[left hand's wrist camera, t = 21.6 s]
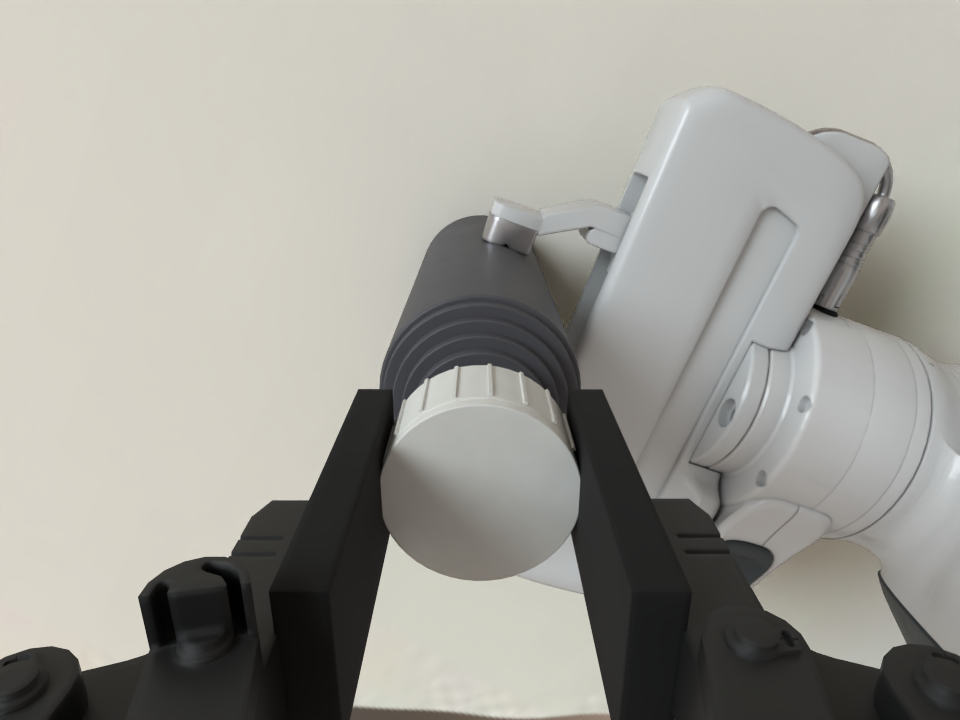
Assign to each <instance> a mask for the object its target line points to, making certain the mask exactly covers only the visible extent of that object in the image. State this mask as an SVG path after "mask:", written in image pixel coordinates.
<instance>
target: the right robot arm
mask: <svg viewBox="0 0 960 720" xmlns="http://www.w3.org/2000/svg"><path fill="white" fill-rule="evenodd" d="M878 184H879V189H878V193H877V194H874V192H875V190H876V188H877V186H878ZM892 184H893V171H892V167H891V163H890V160H889V156H888V155H887V154H886V153H885V152H884V151H883V150H882V149H881V148H880V147H879V146H877V145H876V144H875V143H873V142H871V141H868V140H866V139H863V138H861V137H858V136H856V135H853V134H851V133H848V132H846V131H843V130H841V129H836V128H820V129H815V130H812V131H809V132H807V131H806V130H804V129H802V128H801V127H799V126H798V125H796V124H794V123H793V122H791V121H789V120H788V119H786V118H784V117H782V116H781V115H779V114H777V113H775V112H773V111H771V110H770V109H768V108H766V107H764V106H762V105H760V104H758V103H756V102H754V101H752V100H750V99H748V98H745V97H743V96H741V95H739V94H737V93H734V92H732V91H729V90H727V89H724V88H720V87H714V86H700V87H696V88H692V89H689V90H687V91H684V92H682V93H679V94H677V95H675V96H673V97H671V98H668V99H667V100H665V101H664V102H663V103H662V104H661V106H660V107H659V110H658V112H657V114H656V116H655V119H654V121H653V124H652V126H651V128H650V131H649V133H648V135H647V138H646V140H645V143H644V145H643V147H642V150H641V152H640V155H639V157H638V159H637V162H636V164H635V167H634V169H633V171H632V174H631V176H630V178H629V181H628V183H627V186H626V188H625V190H624V193H623V195H622V198H621V200H620V202H619V205H618V207H617V208H615V207H612V206H609V205H607V204H604V203H601V202H598V201H596V200H593V199H586V200H581V201H576V202H571V203H566V204H560V205H555V206H550V207H545V208H540V210H539V211H536V210H533V209H531V208H528V207H525V206H522V205H519V204H517V203H514V202H511V201H508V200H506V199H502V198H498V197H495V198H494V201H493V204H492V207H491V210H490V212H489V215H488V218H487V221H486V224H485V227H484V230H483V233H482V235H483V236H482V238H483V239H484V240H485V241H487V242H490V243H492V244H496V245H500V246H502V245H505V244H507V245H508V247H509V248H510V249H511V250H514V251H515V252H517V253H520V254H523V255H526V256H528V255H529V252H530V250H531V247H532V245H533V243H534V240H535V238H536V235H537V236H541V235H546V234H552V233H558V232H564V231H570V230H576V229H579V233H580V235H581V236H582V237H583V238H584V239H585V240H586V241H587V243H588V244H590V245H593V246H596V247H598V248H600V250H599V252H598V255H597V257H596V260H595V262H594V264H593V267H592V269H591V272H590V274H589V276H588V279H587V281H586V283H585V286H584V288H583V291H582V293H581V295H580V298H579V300H578V303H577V305H576V307H575V310H574V312H573V314H572V317H571V319H570V322H569V324H568V326H567V329H566V334H567V336H568V339H569V342H570V344H571V347H572V349H573V352H574V354H575V357H576V359H577V363H578V367H579V371H580V378H581V389H602V390H603V392H604V394H605V396H606V399H607V401H608V403H609V405H610V408H611V410H612V412H613V414H614V417H615V419H616V421H617V423H618V426H619V428H620V430H621V432H622V435H623V437H624V439H625V441H626V444H627V446H628V448H629V450H630V453H631V455H632V457H633V459H634V462H635V464H636V466H637V468H638V471H639V473H640V475H641V477H642V480H643V482H644V484H645V486H646V489H647V491H648V493H649V495H650V498H651V499H690V500H691V501H692V502H694V503H695V504H696V505H697V506H699V507H700V508H701V509H703V510H704V511H705V512H706V513H708V514H709V515H710V517H711V518H712V520H713V522H714V524H715V525H716V527H717V529H718V531H719V532H720V536H721V538H723V539H724V541H725V543H726V545H727V546H728V548H729V550H730V554H732V555H733V557H734V559H735V560H736V562H737V564H738V566H739V567H740V569H741V571H742V573H743V574H744V576H745V578H746V580H747V581H748V583H749V585H750V587H751V588H753V587H754V586H755V585H756V584H757V583H759V582H760V581H761V580H762V579H764V578H765V577H766V576H767V575H768V574H770V573H771V572H772V571H773V570H775V569H776V568H777V567H779V566H780V565H781V564H783V563H784V562H785V561H787V560H788V559H790V558H791V557H792V556H794V555H795V554H797V553H799V552H800V551H802V550H803V549H805V548H806V547H808V546H810V545H811V544H813V543H814V542H816V541H817V540H818V539H820V538H823V539H834V540H844V541H850V542H852V543H855V544H858V545H860V546H862V547H864V548H865V549H867V550H868V551H869V552H870V553H872V554H873V555H874V556H875V557H877V559H878V560H879V562H880V564H881V567H882V568H881V570H880V571H878V576H879V581H880V584H881V587H882V590H883V593H884V596H885V598H886V600H887V602H888V605H889V607H890V609H891V612H892V614H893V616H894V618H895V620H896V622H897V624H898V626H899V628H900V630H901V632H902V634H903V636H904V639H905V641H906V643H907V644H917V645H926V646H933V647H936V648H939V649H942V650H945V651H948V652H951V653H954V654H957V655H959V656H960V364H943V363H939V362H936V361H934V360H933V359H931V358H930V357H929V356H928V355H927V354H926V353H924V352H923V351H921V350H920V349H919V348H917V347H916V346H914V345H913V344H912V343H910V342H908V341H906V340H903V339H901V338H899V337H897V336H894V335H891V334H888V333H886V332H883V331H880V330H877V329H874V328H872V327H869V326H866V325H863V324H861V323H858V322H855V321H852V320H850V319H847V318H844V317H842V316H839V315H838V314H837V312H838V310H839V308H840V306H841V305H842V303H843V301H844V299H845V298H846V296H847V294H848V292H849V291H850V289H851V287H852V285H853V284H854V282H855V280H856V278H857V276H858V274H859V272H860V268H861V267H862V264H863V262H862V261H864V259H865V257H866V254H867V253H868V251H869V249H870V248H869V247H871V246H872V244H873V242H874V241H875V239H876V237H877V236H880V234H881V233H882V232H883V230H884V229H885V227H886V225H887V223H888V221H889V220H890V218H891V215H892V212H893V210H894V206H895V201H894V200H892V199H890V198H889V196H890V193H891V189H892ZM517 576H519V577H522V578H525V579H528V580H531V581H534V582H537V583H541V584H544V585H548V586H552V587H555V588H559V589H563V590H567V591H572V592H576V593H580V594H584V592H583V588H582V583H581V578H580V574H579V569H578V564H577V560H576V555H575V550H574V546H573V541H572V537H571V534H570V535H569V537H568V538H567V539H566V541H565V542H564V544H563V545H562V546H561V547H560V548H559V549H558V550H557V551H556V552H555V553H554V554H553V555H552V556H550V557H549V558H548V559H547V560H545V561H544V562H542V563H541V564H539V565H538V566H536V567H534V568H532V569H530V570H528V571H526V572H523V573H521V574H518V575H517Z"/></svg>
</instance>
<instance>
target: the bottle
mask: <svg viewBox="0 0 960 720" xmlns="http://www.w3.org/2000/svg"><path fill="white" fill-rule="evenodd" d="M487 218H488V216H470V217H466V218H462V219H459V220H457V221H455V222H453V223H451V224H450V225H448V226H446V227H445V228H444V229H443V230H441V231H440V232H439V233H438V235H437V236H436V237H435V238H434V240H433V241H432V242H431V244H430V246H429V248H428V250H427V252H426V255H425V257H424V260H423V262H422V265H421V268H420V270H419V273H418V275H417V278H416V280H415V283H414V285H413V288H412V290H411V293H410V295H409V298H408V300H407V303H406V305H405V308H404V310H403V313H402V316H401V318H400V321H399V323H398V326H397V328H396V331H395V333H394V336H393V338H392V341H391V343H390V346H389V348H388V351H387V354H386V356H385V359H384V362H383V365H382V370H381V375H380V389H393V407H394V423H395V421H396V418H397V416H398V413H399V411H400V409H401V405H402V401H403V400H404V399H406V400H407V399H408V398H409V396H410V395H411V394H412V393H413V392H414V391H415V390H416V389H417V388H418V387H420V386H421V385H422V384H424V381H425V379H427V378H428V379H431V378H433V377H435V376H436V375H438V374H441V373H443V372H446V371H448V370H451V369H454V367H455V366H458V367H464V366H472V365H488V364H492V366H497V367H501V368H506V369H510V370H512V371H515V372H518V373H519V372H520V371H521V372H523V373H524V376H526V377H528V378H530V379H531V380H533V381H534V382H536V383H537V384H539V385H540V386H541V387H542V388H543V389H544V390H546V389H548V390H549V392H550V395H551V397H552V398H553V399H554V401H555V402H556V403H557V405H558V407H559V408H560V410H561V412H562V414H564V413H565V414H566V417H567V402H568V389H581V378H580V371H579V367H578V363H577V359H576V357H575V354H574V352H573V349H572V347H571V344H570V342H569V339H568V336H567V334H566V331H565V329H564V326H563V324H562V321H561V319H560V316H559V314H558V311H557V309H556V306H555V304H554V301H553V299H552V296H551V293H550V291H549V288H548V286H547V283H546V281H545V278H544V276H543V273H542V271H541V268H540V266H539V263H538V261H537V258H536V256H535V253H534V251H533V248H532V247H531V250H530V252H529V255H528V256H526V255H523V254H520V253H517V252H515V251H514V250H511V249H510V248H509V247H508V245H507V244H505V245H502V246H500V245H496V244H492V243H490V242H487V241H485V240H484V239H483V238H482V236H483V235H482V233H483V230H484V227H485V224H486V221H487Z"/></svg>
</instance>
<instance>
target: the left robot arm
mask: <svg viewBox="0 0 960 720" xmlns="http://www.w3.org/2000/svg"><path fill="white" fill-rule="evenodd" d="M567 420H568V424H569V427H570V431H571V434H572V438H573V441H574V444H575V448H576V450H575V451H574V453H575V457H576V461H577V464H578V468H579V472H580V494H579V510H578V519H577V522H576V524H575V526H574V528H573V530H572V532H571V537H572V541H573V546H574V550H575V555H576V560H577V564H578V569H579V574H580V578H581V583H582V588H583V592H584V597H585V602H586V606H587V611H588V616H589V620H590V625H591V629H592V634H593V639H594V643H595V648H596V653H597V657H598V662H599V667H600V671H601V676H602V681H603V685H604V690H605V694H606V699H607V704H608V708H609V713H610V718H611V720H674V719H675V720H960V656H959V655H957V654H954V653H951V652H948V651H945V650H942V649H939V648H936V647H933V646H926V645H917V644H906V645H902V646H897V647H893V648H892V649H891V650H890V651H889V652H888V653H887V654H886V655H885V656H884V657H883V661H882V664H881V668H880V669H877V668H873V667H869V666H865V665H860V664H856V663H852V662H848V661H844V660H840V659H835V658H832V657H829V656H826V655H823V654H819V653H816V652H814V651H812V650H810V648H809V646H808V645H807V643H806V641H805V640H804V638H803V637H802V635H801V634H800V633H799V632H798V631H797V630H796V629H795V628H793V627H792V626H791V625H790V624H789V623H787V622H786V621H785V620H783V619H781V618H779V617H777V616H775V615H773V614H771V613H769V612H767V611H764V609H763V607H762V606H761V604H760V602H759V600H758V599H757V597H756V595H755V593H754V592H753V590H752V588H751V587H750V585H749V583H748V581H747V580H746V578H745V576H744V574H743V573H742V571H741V569H740V567H739V566H738V564H737V562H736V560H735V559H734V557H733V555H732V554H730V550H729V548H728V546H727V545H726V543H725V541H724V539H723V538H721V536H720V532H719V531H718V529H717V527H716V525H715V524H714V522H713V520H712V518H711V517H710V515H709V514H708V513H706V512H705V511H704V510H703V509H701V508H700V507H699V506H697V505H696V504H695V503H694V502H692V501H691V500H690V499H651V498H650V495H649V493H648V491H647V489H646V486H645V484H644V482H643V480H642V477H641V475H640V473H639V471H638V468H637V466H636V464H635V462H634V459H633V457H632V455H631V453H630V450H629V448H628V446H627V444H626V441H625V439H624V437H623V435H622V432H621V430H620V428H619V426H618V423H617V421H616V419H615V417H614V414H613V412H612V410H611V408H610V405H609V403H608V401H607V399H606V396H605V394H604V392H603V390H602V389H568V402H567ZM393 426H394V407H393V389H358V391H357V394H356V396H355V398H354V400H353V403H352V405H351V407H350V409H349V412H348V414H347V416H346V418H345V421H344V423H343V425H342V427H341V430H340V432H339V434H338V436H337V439H336V441H335V443H334V445H333V448H332V450H331V452H330V454H329V457H328V459H327V461H326V463H325V466H324V468H323V470H322V472H321V475H320V477H319V479H318V481H317V484H316V486H315V488H314V490H313V493H312V495H311V497H310V499H309V501H271V502H270V503H269V504H267V505H266V506H265V507H264V508H262V509H261V510H260V511H259V512H257V513H256V514H255V515H253V516H252V517H251V519H250V521H249V522H248V524H247V526H246V528H245V529H244V531H243V533H242V535H241V539H240V540H238V542H237V543H236V545H235V547H234V549H233V551H232V554H231V556H229V558H227V557H203V558H198V559H194V560H189V561H185V562H182V563H180V564H178V565H176V566H174V567H171V568H169V569H167V570H165V571H163V572H162V573H161V574H159V575H158V576H157V577H155V578H154V579H153V580H151V581H150V582H149V583H148V584H147V585H146V587H145V588H144V589H143V591H142V592H141V594H140V595H139V596H138V599H139V603H140V608H141V612H142V617H143V621H144V625H145V630H146V634H147V639H148V643H149V647H150V651H149V653H148V654H146V655H143V656H140V657H137V658H134V659H131V660H128V661H124V662H120V663H115V664H111V665H107V666H103V667H99V668H95V669H90V670H86V671H82V672H81V668H80V665H79V661H78V659H77V658H76V657H75V656H74V655H73V654H72V653H71V652H70V651H69V650H66V649H62V648H57V647H53V646H50V647H41V648H31V649H28V650H25V651H22V652H19V653H16V654H13V655H10V656H7V657H4V658H3V659H1V660H0V720H350V716H351V712H352V707H353V703H354V698H355V693H356V689H357V684H358V679H359V675H360V670H361V665H362V661H363V656H364V651H365V647H366V642H367V637H368V633H369V628H370V623H371V619H372V614H373V610H374V605H375V600H376V596H377V591H378V586H379V582H380V577H381V572H382V568H383V563H384V558H385V554H386V549H387V544H388V540H389V535H390V532H389V530H388V529H387V527H386V525H385V522H384V520H383V514H382V498H381V482H380V474H381V470H382V466H383V459H384V455H385V452H386V448H387V445H388V441H389V438H390V434H391V430H392V427H393Z"/></svg>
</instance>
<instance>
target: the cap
mask: <svg viewBox="0 0 960 720" xmlns="http://www.w3.org/2000/svg"><path fill="white" fill-rule="evenodd" d="M575 450H576V448H575V444H574V441H573V438H572V434H571V431H570V427H569V424H568V420H567V417H566V414H565V413H564V414H562V412H561V410H560V408H559V407H558V405H557V403H556V402H555V401H554V399H553V398H552V397H551V395H550V392H549V390H548V389H546V390H544V389H543V388H542V387H541V386H540V385H539V384H537V383H536V382H534V381H533V380H531V379H530V378H528V377H526V376H524V373H523V372H521V371H520V372H519V373H518V372H515V371H512V370H510V369H506V368H501V367H497V366H492V364H488V365H472V366H464V367H458V366H455V367H454V369H451V370H448V371H446V372H443V373H441V374H438V375H436V376H435V377H433V378H431V379H428V378H427V379H425V381H424V384H422V385H421V386H420V387H418V388H417V389H416V390H415V391H414V392H413V393H412V394H411V395H410V396H409V398H408V399H407V400H406V399H404V400H403V401H402V405H401V409H400V411H399V413H398V416H397V418H396V421H395V423H394V426H393V427H392V430H391V434H390V438H389V441H388V445H387V448H386V452H385V455H384V459H383V466H382V470H381V474H380V482H381V498H382V514H383V520H384V522H385V525H386V527H387V529H388V530H389V532H390V534H391V536H392V537H393V539H394V540H395V541H396V542H397V544H398V545H399V546H400V547H401V548H402V549H403V550H404V551H405V552H406V553H407V554H408V555H409V556H410V557H412V558H413V559H414V560H415V561H417V562H418V563H420V564H422V565H423V566H425V567H427V568H429V569H431V570H433V571H435V572H437V573H440V574H443V575H446V576H449V577H453V578H458V579H463V580H473V581H489V580H497V579H503V578H507V577H512V576H515V575H518V574H521V573H523V572H526V571H528V570H530V569H532V568H534V567H536V566H538V565H539V564H541V563H542V562H544V561H545V560H547V559H548V558H549V557H550V556H552V555H553V554H554V553H555V552H556V551H557V550H558V549H559V548H560V547H561V546H562V545H563V544H564V542H565V541H566V539H567V538H568V537H569V535H570V534H571V532H572V530H573V528H574V526H575V524H576V522H577V519H578V510H579V494H580V472H579V468H578V464H577V461H576V457H575V453H574V451H575Z"/></svg>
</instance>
